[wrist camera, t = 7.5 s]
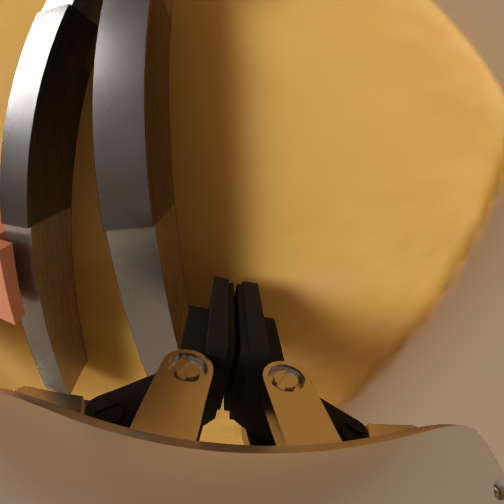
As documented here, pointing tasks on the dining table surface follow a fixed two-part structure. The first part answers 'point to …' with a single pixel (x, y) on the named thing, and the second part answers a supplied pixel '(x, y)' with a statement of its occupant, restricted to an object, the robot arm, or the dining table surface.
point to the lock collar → (9, 282)
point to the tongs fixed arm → (48, 181)
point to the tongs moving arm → (139, 171)
